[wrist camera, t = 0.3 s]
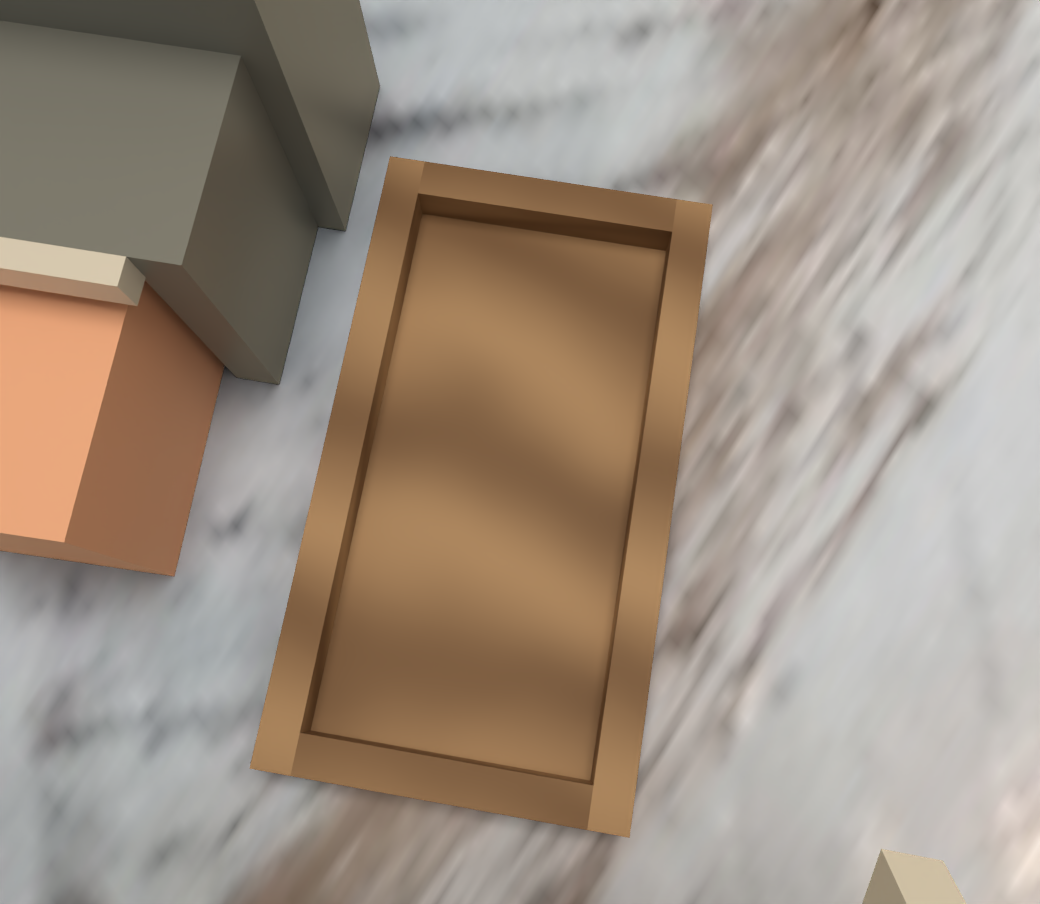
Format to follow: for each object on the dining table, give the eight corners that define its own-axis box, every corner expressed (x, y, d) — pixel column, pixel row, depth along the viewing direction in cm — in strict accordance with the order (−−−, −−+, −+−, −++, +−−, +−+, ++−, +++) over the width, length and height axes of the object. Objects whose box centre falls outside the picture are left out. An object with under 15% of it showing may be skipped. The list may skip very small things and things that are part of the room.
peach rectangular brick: (175, 576, 30) (64, 542, 23) (-3, 550, 30) (-170, 507, 23) (255, 243, 33) (178, 117, 26) (91, 221, 33) (-30, 91, 26)
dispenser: (302, 411, 31) (130, 200, 18) (-38, 355, 32) (-460, 109, 18) (379, 85, 34) (284, -309, 21) (69, 40, 35) (-224, -373, 21)
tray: (622, 827, 28) (629, 837, 26) (268, 762, 28) (249, 768, 26) (701, 233, 33) (712, 204, 31) (397, 187, 33) (390, 156, 31)
